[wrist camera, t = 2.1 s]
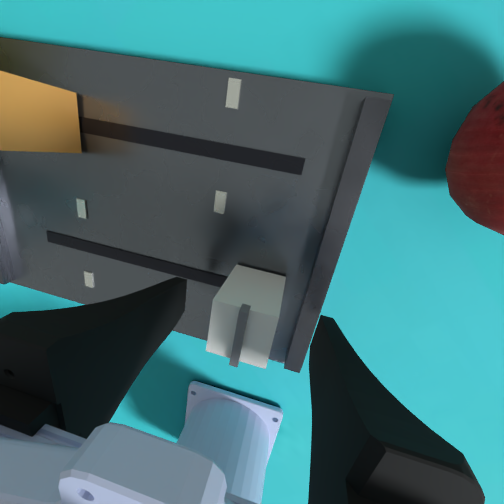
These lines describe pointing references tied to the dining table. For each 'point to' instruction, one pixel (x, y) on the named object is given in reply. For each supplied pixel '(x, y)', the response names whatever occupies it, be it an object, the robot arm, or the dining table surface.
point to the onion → (480, 162)
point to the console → (186, 184)
